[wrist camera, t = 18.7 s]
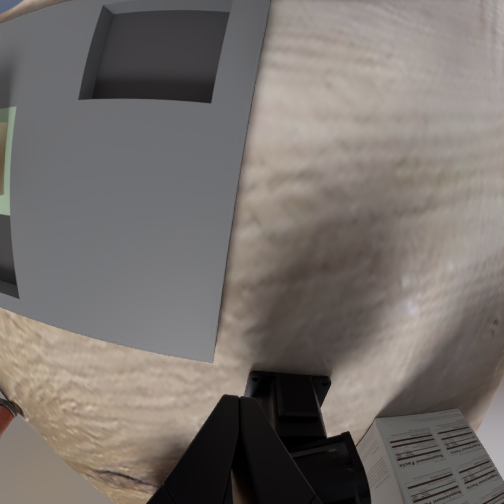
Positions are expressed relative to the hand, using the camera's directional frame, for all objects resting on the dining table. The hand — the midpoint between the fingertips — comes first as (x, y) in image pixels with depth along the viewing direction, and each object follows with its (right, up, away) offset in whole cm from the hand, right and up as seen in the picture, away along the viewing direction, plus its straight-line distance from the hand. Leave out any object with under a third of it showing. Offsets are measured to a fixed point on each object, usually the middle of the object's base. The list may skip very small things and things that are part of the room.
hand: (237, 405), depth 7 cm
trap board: (-12, +10, +9) cm, 18 cm away
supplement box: (+17, -21, +20) cm, 33 cm away
